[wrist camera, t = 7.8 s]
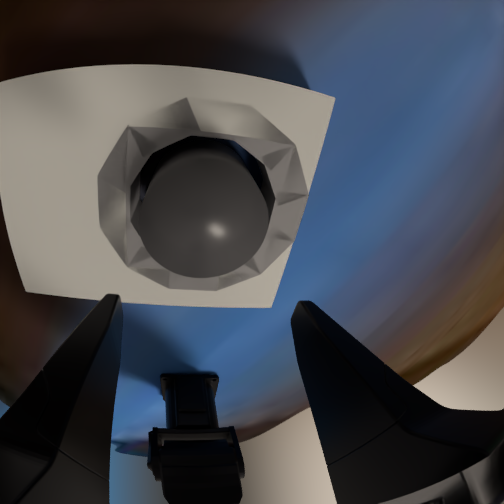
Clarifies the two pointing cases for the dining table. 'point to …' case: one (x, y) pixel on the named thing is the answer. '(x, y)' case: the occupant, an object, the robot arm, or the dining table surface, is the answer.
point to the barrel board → (129, 169)
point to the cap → (202, 211)
